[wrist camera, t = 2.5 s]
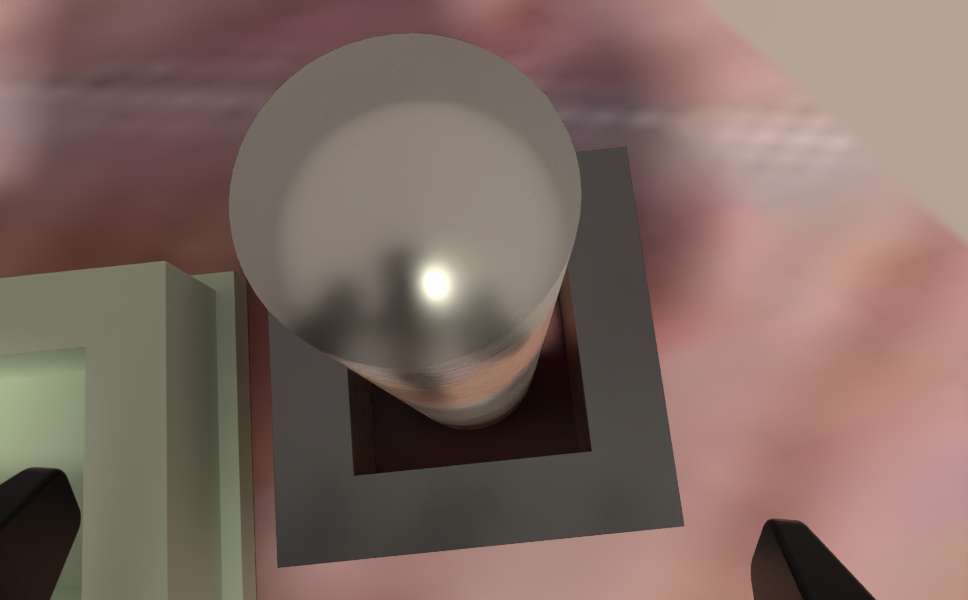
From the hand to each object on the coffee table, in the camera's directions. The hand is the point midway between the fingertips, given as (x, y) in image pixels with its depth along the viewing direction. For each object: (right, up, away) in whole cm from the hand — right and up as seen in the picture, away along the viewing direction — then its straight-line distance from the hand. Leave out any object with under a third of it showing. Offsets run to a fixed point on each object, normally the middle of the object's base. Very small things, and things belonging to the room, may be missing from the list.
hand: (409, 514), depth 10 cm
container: (-10, -2, +10) cm, 15 cm away
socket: (+1, +1, +11) cm, 11 cm away
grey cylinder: (+1, +1, +11) cm, 11 cm away
